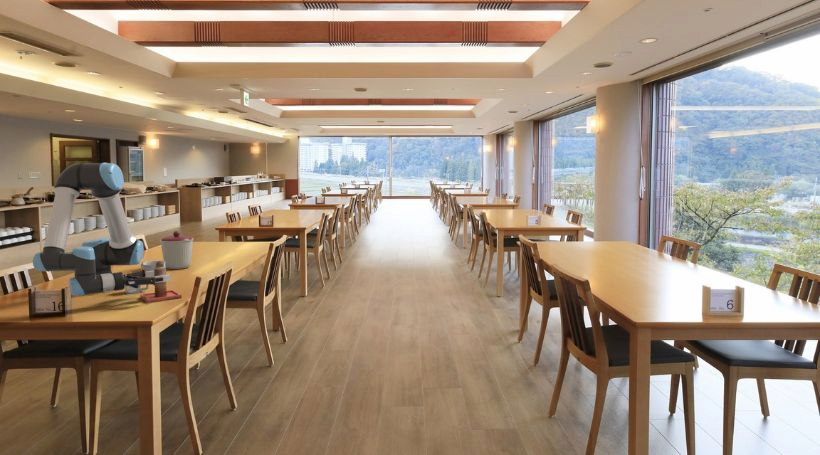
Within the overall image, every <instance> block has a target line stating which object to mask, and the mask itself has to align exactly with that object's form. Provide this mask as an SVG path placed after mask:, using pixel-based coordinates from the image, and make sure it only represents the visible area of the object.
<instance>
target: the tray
mask: <svg viewBox="0 0 820 455" xmlns="http://www.w3.org/2000/svg"><path fill="white" fill-rule="evenodd" d="M139 296H140V298H139V299H142V300H143V301H144V302H145V303H147V304H151V303H157V302H165V301H170V300H176V299H178V300H179V299H182V298H183V297H182V293H179V292H178V291H176V290H174V289H169V290H168V289H167V296H165V297H155V291H154V292H147V293H140V295H139Z"/></svg>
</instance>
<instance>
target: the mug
mask: <svg viewBox="0 0 820 455" xmlns="http://www.w3.org/2000/svg"><path fill="white" fill-rule="evenodd" d="M149 288H150V285H146V286H145V287H142V285H133V286H129V284H125V287H124V289H125V294H127V295H130V294H135V295H136V294H139V293H140V294H141V293H142V291H147V290H149Z"/></svg>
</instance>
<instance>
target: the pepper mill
mask: <svg viewBox="0 0 820 455" xmlns="http://www.w3.org/2000/svg"><path fill="white" fill-rule="evenodd" d="M162 261H163V260H160V261H158V262H157V263H156V267H155V269H154V277H155V276H163V275H167V268H166V269H165V267H166V266H164V263H163V262H162ZM167 291H168V289H167V282H159V283H155V285H154V292H155V297H165V296H167Z"/></svg>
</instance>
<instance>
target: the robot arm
mask: <svg viewBox="0 0 820 455" xmlns="http://www.w3.org/2000/svg"><path fill="white" fill-rule="evenodd" d="M124 178H125V177H124V174H123V171H122V170H121V168H120V167H119V165H117V164H115V163H112V162H111V163H110V162H109V163H108V162H102V163H101V162H76V163H73V164H71V165H69V166H68V167H66V168H65V169H64V170H63V171H62V172H61V173H60V174H59V175H58V177H57V178H56V180H55V183H54V187H53V193H54V199H53V204H52V208H51V212H50V217H49V221H48V226H47V230H46V235H45V239H44V245H43V248H42V251H41V252H37V253H35V254H34V256H33V257H32V265H33V268H34V269H35V271H37V272H38V271H39V272H59V271H60V272H62V271H63V272H74V274H73V275H74V276H73V277H71V278H69V279H68V289H69V288H70V290H71V293H70V294H71V295H72V296H75V297H76V296H85V295H86V296H88V295H93V294H99V293H104V294H108V292H113V291H116V292H117V291H123V290H124V289H125V284H129V286H133V285H141V286H145V285H149V286H150V285H153V286H155V283H159V282H166V283H167V282H172V277H171V274H166V275H163V276H155V277H154V271H147V272H145V270H143V269H142V270H140V271H137V272H131V273H127V274H126V273H125V274H124V273H123V272H122V271H119V272H118V271H117V272H113V271H112V267H113V266H129V267H131V266H136V265H139V264H141V263H142V260H143V256H144V252H145V251H144V242H143V241H141V240H137V237H136V235H135V234H134V233H132V232H131V230H130V226H129V223H128V220H127V216H126V212H125V210H124V207H123V203H122V200H121V197H120V193H121V191H122V189H123V187H124V183H125V182H124V181H125V180H124ZM81 191H90V192H91V195H92V196H93V197H94V198H96V199H97V200H98V203H99V206H100V209H101V212H102V215H103V219H104V221H105V225H106V228H107V230H108V234H109V236H110V238H109V237H104V238H97V239H96V238H95V239H91V240H87V241H84V242H82V244H81V246H78V247H77V246H76V247H74V248H72V251H69V252H68V251H65V250H66V246H67V245H66V244H67V242H68V241H67V240H68V237H69V231H70V227H71V222H72V217H73V213H74V209H75V205H76V201H77V200H76V199H77V198H79V197H80V195H81V194H80V193H81ZM70 290H69V291H70Z"/></svg>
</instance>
